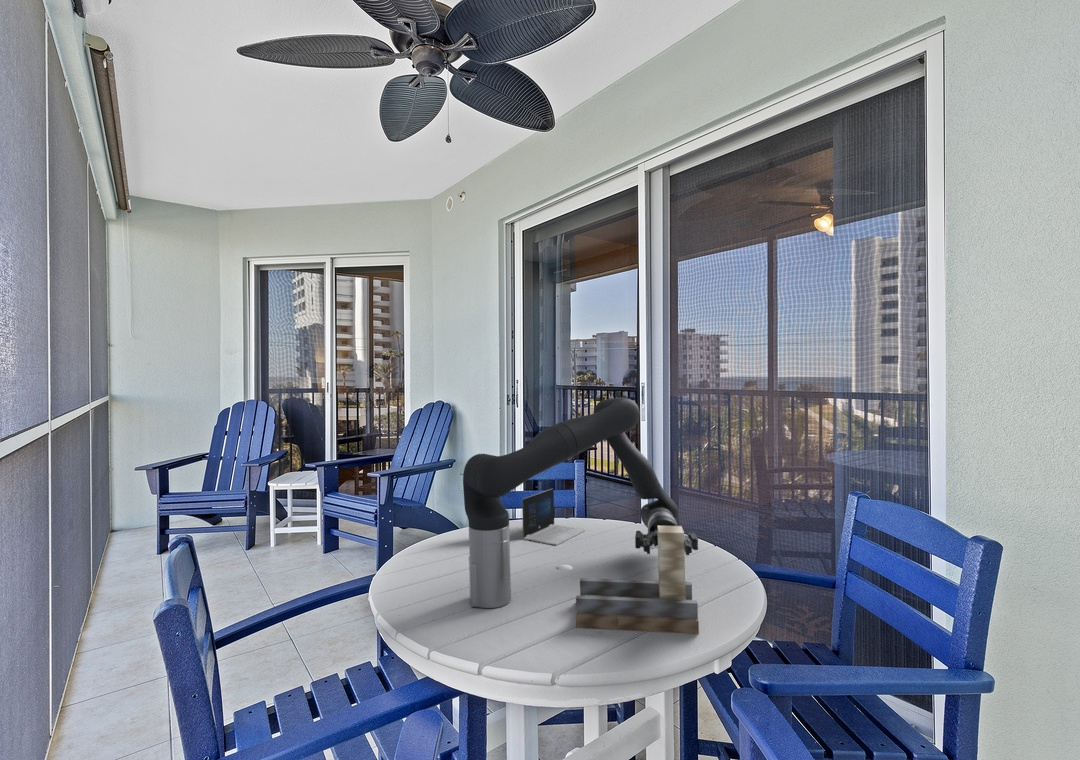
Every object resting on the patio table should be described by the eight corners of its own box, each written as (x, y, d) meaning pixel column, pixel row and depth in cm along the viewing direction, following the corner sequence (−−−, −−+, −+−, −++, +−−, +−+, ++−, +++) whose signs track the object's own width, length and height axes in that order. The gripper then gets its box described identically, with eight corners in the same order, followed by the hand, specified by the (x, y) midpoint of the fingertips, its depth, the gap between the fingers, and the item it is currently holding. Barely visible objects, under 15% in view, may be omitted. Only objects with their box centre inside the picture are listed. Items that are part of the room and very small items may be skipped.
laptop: (556, 546, 162) (555, 503, 162) (522, 540, 169) (521, 498, 169) (585, 531, 177) (584, 491, 177) (553, 526, 184) (552, 488, 184)
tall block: (660, 610, 111) (658, 532, 110) (659, 600, 115) (657, 525, 115) (685, 611, 110) (684, 532, 110) (683, 601, 115) (681, 526, 115)
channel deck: (576, 627, 109) (575, 600, 109) (581, 600, 122) (580, 576, 122) (698, 633, 106) (698, 605, 105) (691, 605, 118) (690, 580, 118)
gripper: (634, 514, 138) (635, 532, 122) (691, 515, 135) (700, 534, 119) (634, 543, 138) (636, 565, 122) (692, 545, 136) (701, 568, 119)
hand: (668, 550), depth 121 cm, fingers open, 8 cm apart
